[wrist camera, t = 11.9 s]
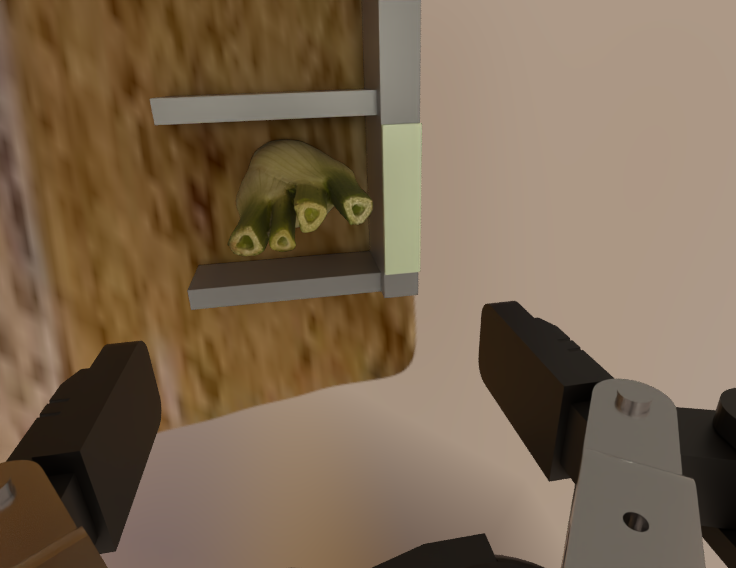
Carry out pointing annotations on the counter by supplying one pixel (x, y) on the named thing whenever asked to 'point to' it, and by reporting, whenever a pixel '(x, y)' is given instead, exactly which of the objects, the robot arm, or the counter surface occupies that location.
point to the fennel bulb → (292, 196)
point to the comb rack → (384, 170)
